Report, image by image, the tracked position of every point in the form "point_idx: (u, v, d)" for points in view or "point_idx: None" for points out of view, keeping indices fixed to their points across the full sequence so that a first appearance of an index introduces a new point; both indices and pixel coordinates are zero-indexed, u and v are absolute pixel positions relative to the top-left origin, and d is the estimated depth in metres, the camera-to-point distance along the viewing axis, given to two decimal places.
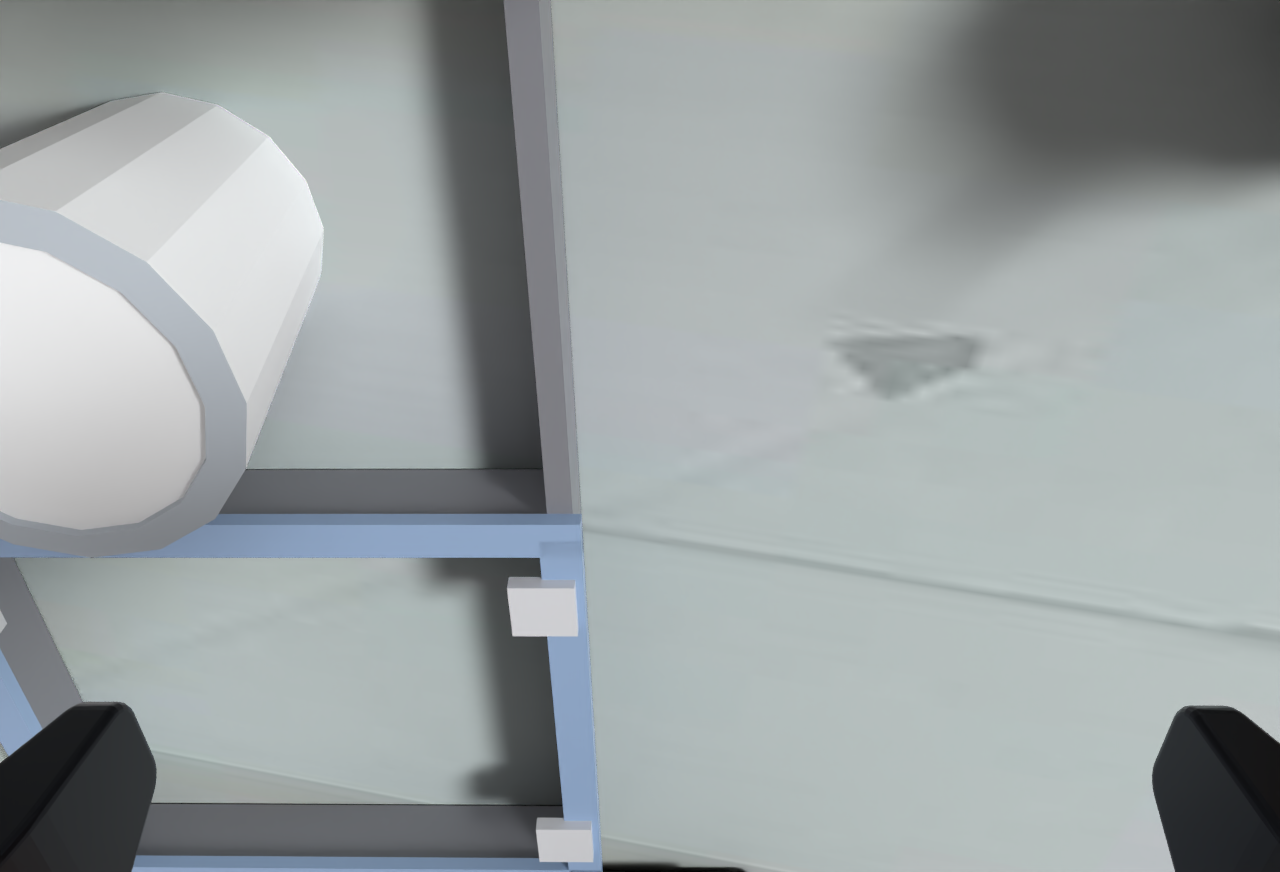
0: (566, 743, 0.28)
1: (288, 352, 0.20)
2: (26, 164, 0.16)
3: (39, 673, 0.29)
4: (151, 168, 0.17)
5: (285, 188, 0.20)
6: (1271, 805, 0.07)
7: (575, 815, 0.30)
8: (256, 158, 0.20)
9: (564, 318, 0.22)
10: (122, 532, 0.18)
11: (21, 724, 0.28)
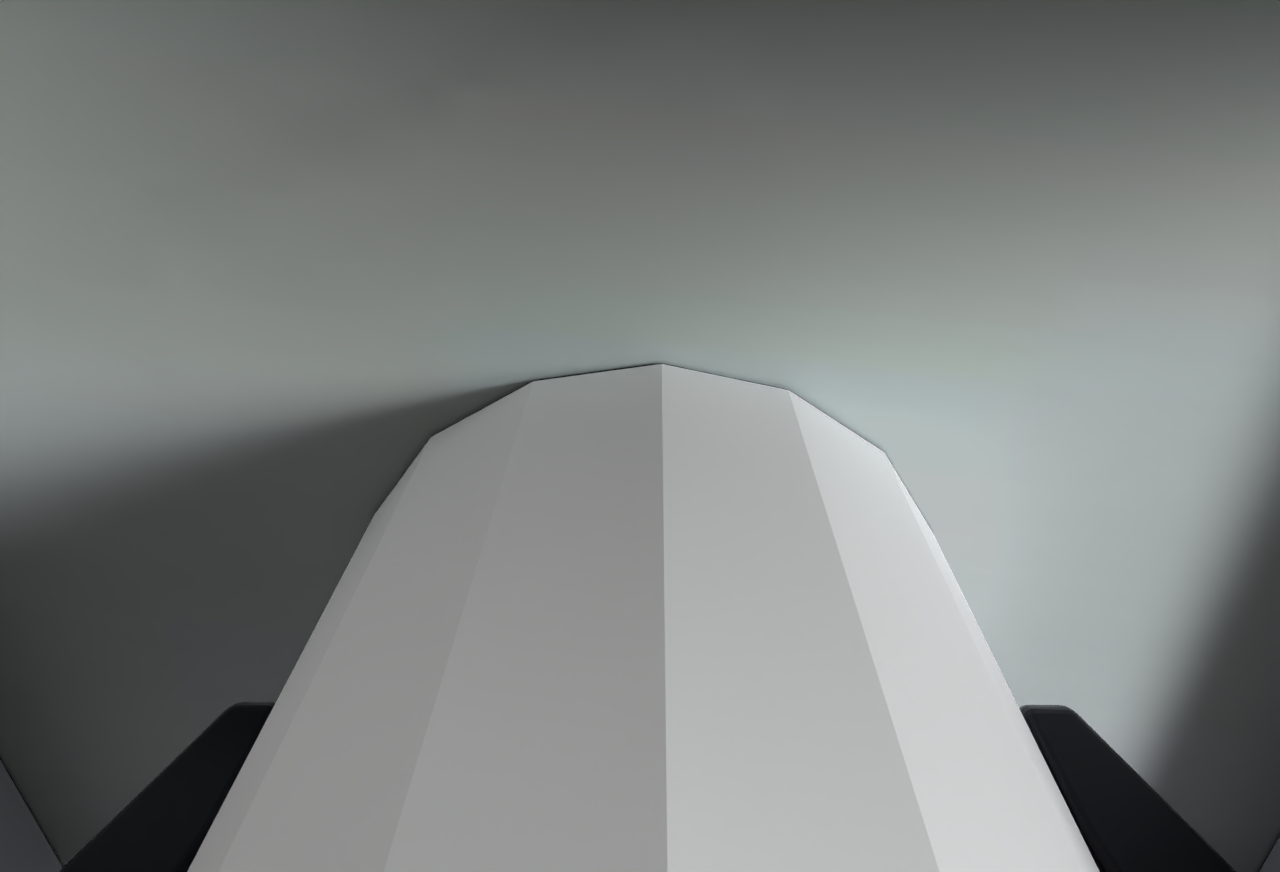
0: None
1: None
2: None
3: None
4: (950, 793, 0.05)
5: (963, 599, 0.08)
6: (1083, 804, 0.07)
7: None
8: (931, 547, 0.08)
9: None
10: None
11: None
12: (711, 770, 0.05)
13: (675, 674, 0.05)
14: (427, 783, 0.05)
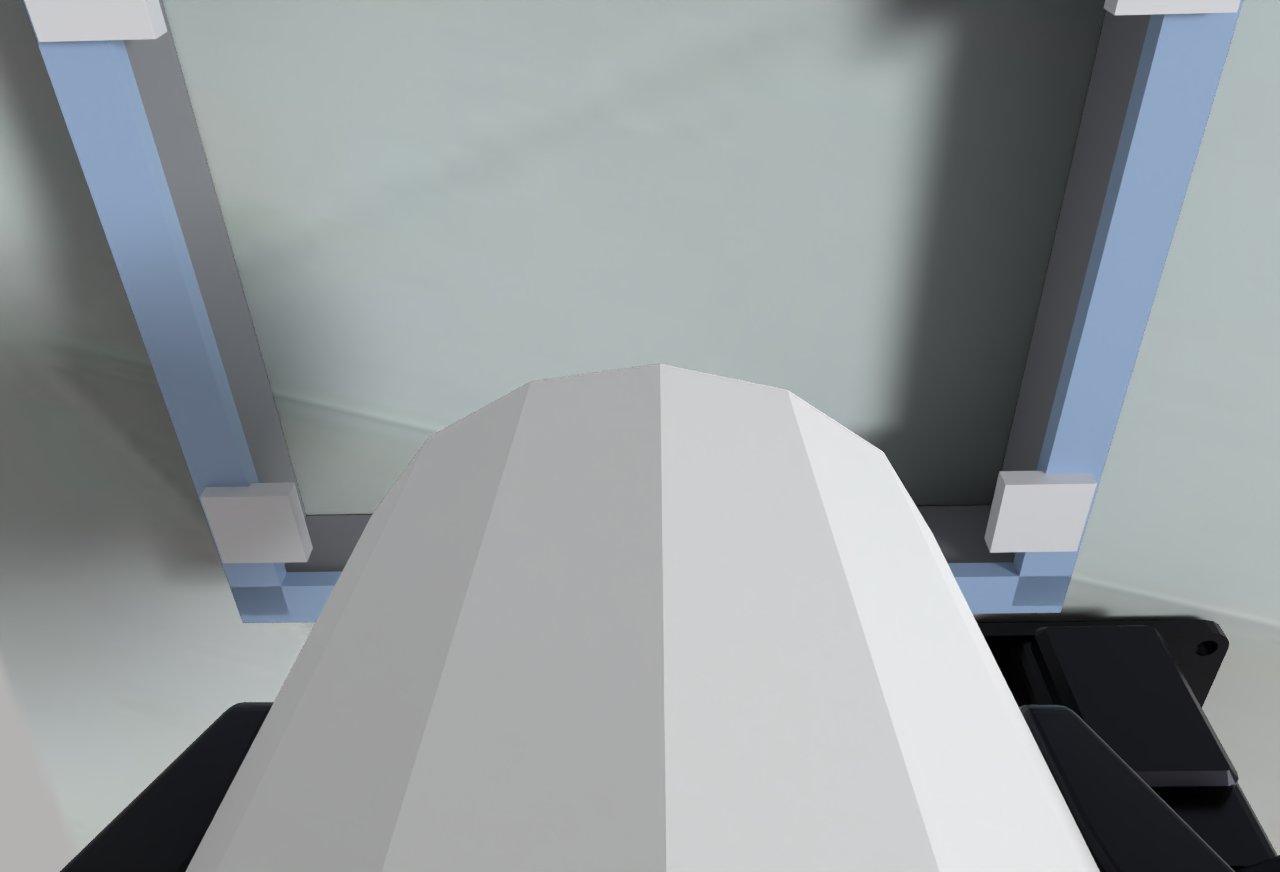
0: (1107, 301, 0.16)
1: None
2: None
3: (195, 217, 0.17)
4: (949, 795, 0.05)
5: (963, 599, 0.08)
6: (1082, 805, 0.07)
7: (1068, 461, 0.18)
8: (931, 548, 0.08)
9: None
10: None
11: (175, 280, 0.16)
12: (710, 773, 0.05)
13: (674, 676, 0.05)
14: (422, 786, 0.05)
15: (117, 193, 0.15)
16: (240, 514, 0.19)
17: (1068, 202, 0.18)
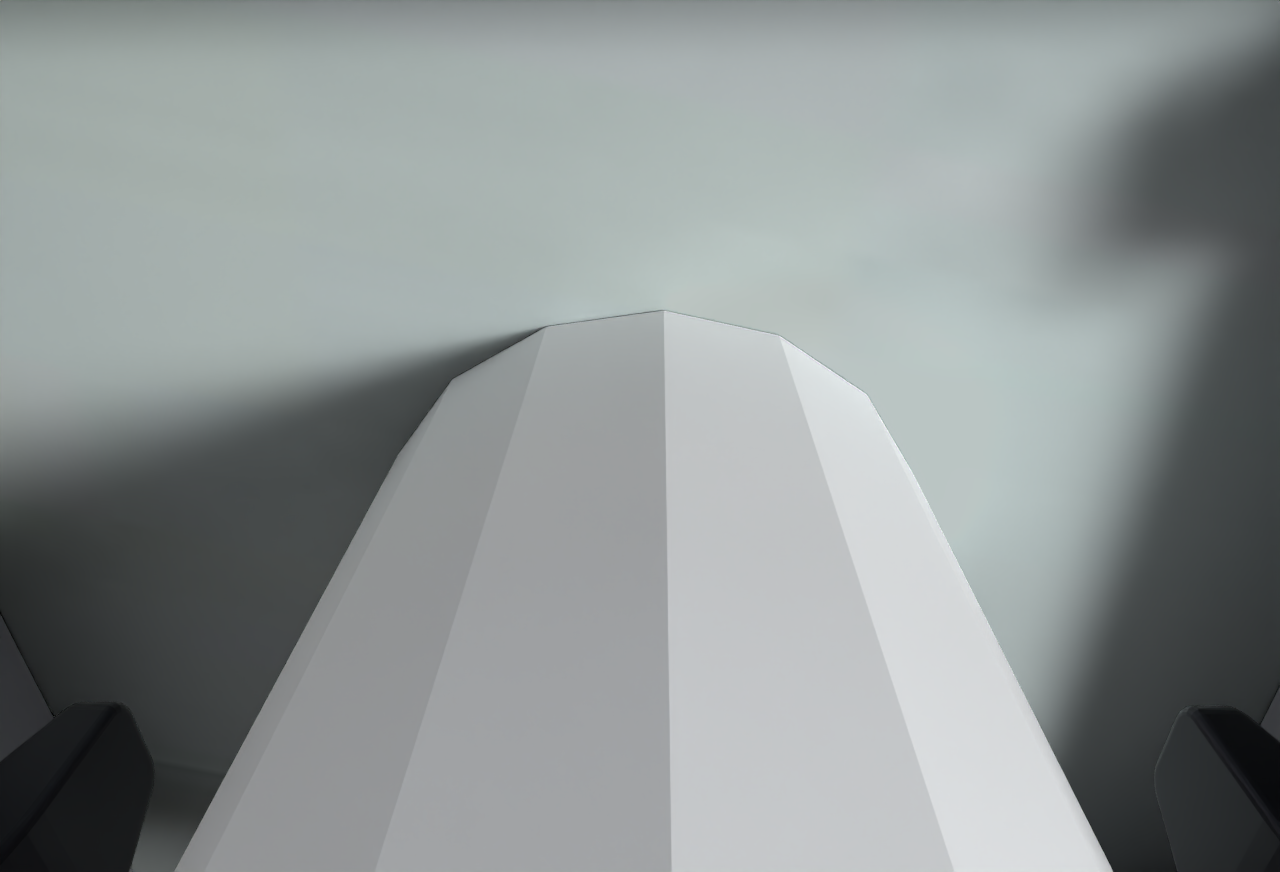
0: None
1: None
2: (699, 766, 0.05)
3: None
4: (910, 650, 0.06)
5: (937, 524, 0.09)
6: (1273, 805, 0.07)
7: None
8: (907, 474, 0.09)
9: None
10: None
11: None
12: (706, 622, 0.06)
13: (675, 551, 0.06)
14: (464, 634, 0.06)
15: None
16: None
17: None
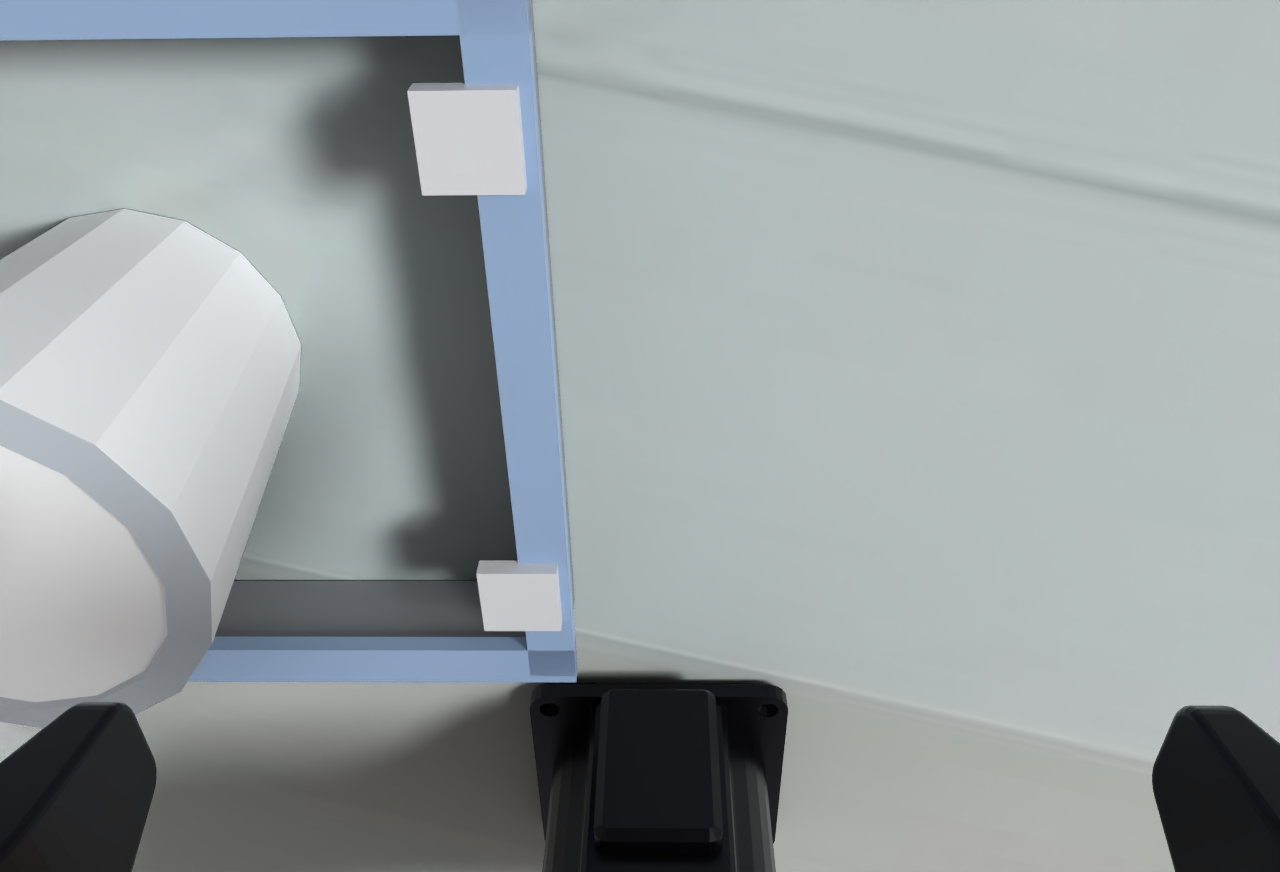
0: (516, 421, 0.19)
1: (261, 493, 0.18)
2: None
3: None
4: (105, 318, 0.16)
5: (257, 312, 0.19)
6: (1271, 805, 0.07)
7: (534, 553, 0.20)
8: (225, 283, 0.18)
9: None
10: None
11: None
12: (10, 300, 0.15)
13: (20, 282, 0.16)
14: None
15: None
16: None
17: None
